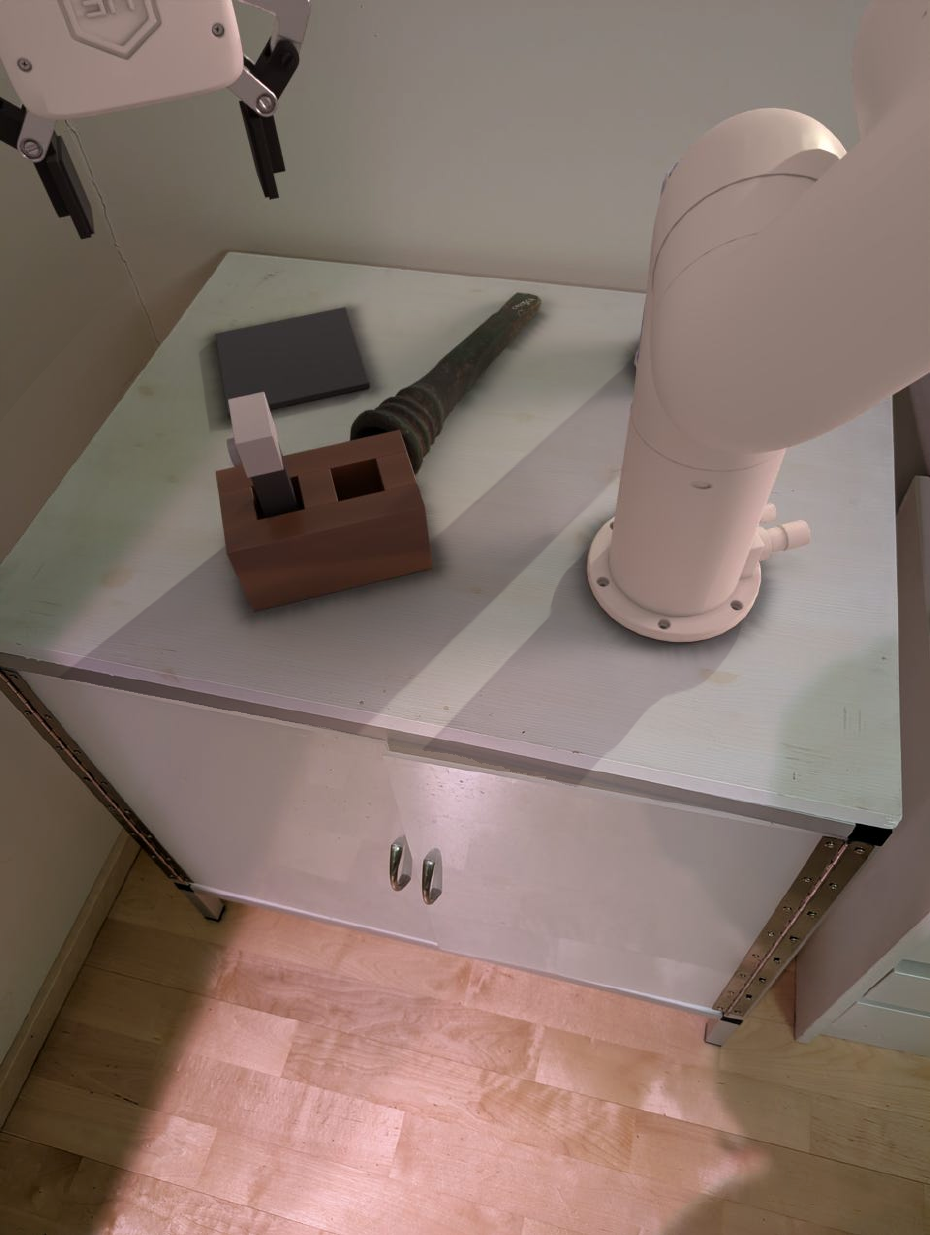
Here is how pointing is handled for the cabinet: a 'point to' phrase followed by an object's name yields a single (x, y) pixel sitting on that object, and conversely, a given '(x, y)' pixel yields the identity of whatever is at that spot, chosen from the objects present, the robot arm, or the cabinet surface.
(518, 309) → the tool
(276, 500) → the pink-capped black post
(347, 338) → the mat
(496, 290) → the cabinet surface
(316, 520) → the holder
